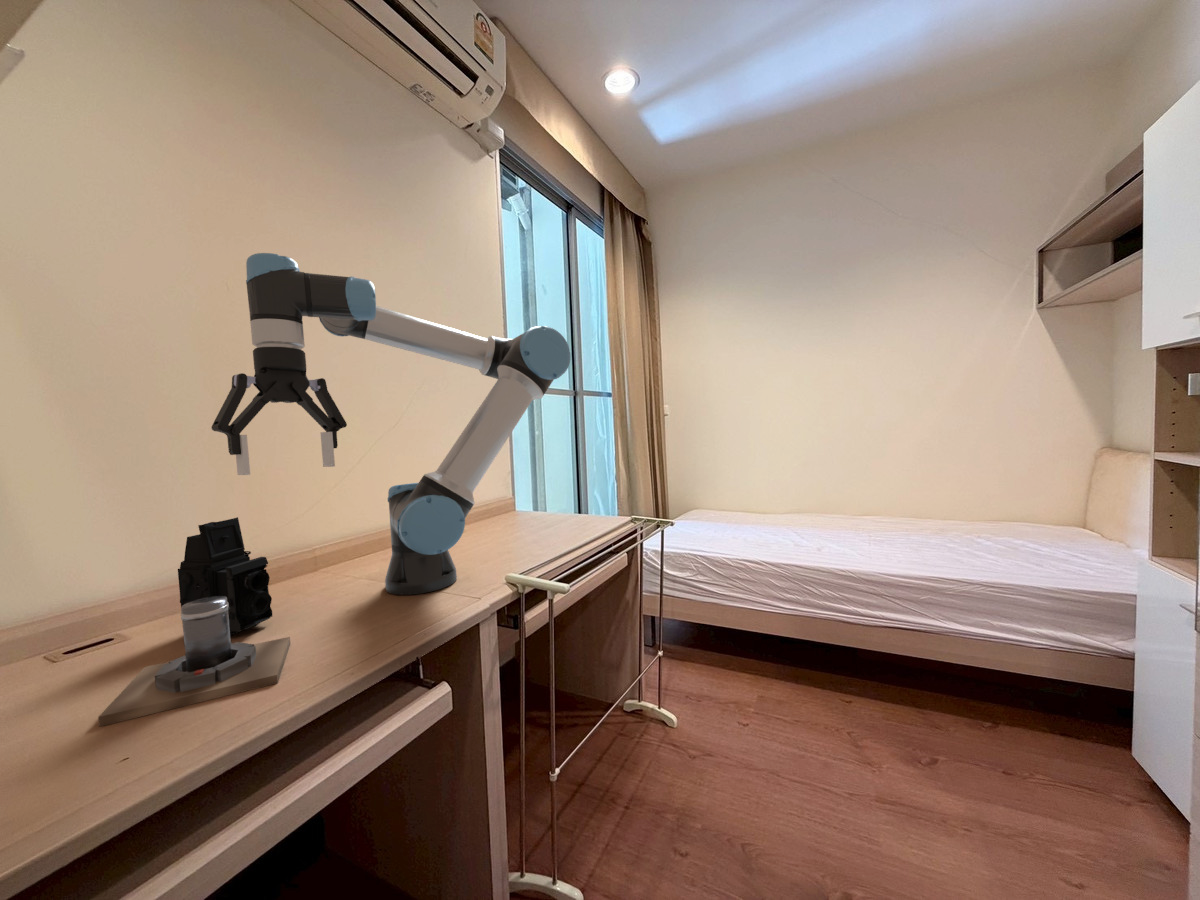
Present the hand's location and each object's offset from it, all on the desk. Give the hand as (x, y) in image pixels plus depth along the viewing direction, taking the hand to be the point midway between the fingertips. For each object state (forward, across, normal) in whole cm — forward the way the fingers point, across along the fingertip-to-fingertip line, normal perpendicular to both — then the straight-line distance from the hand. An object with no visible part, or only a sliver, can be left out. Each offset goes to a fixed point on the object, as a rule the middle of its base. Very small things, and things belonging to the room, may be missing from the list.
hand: (289, 470), depth 81 cm
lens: (+27, +15, +6) cm, 32 cm away
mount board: (+28, +15, +6) cm, 33 cm away
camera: (+29, +6, -12) cm, 32 cm away
